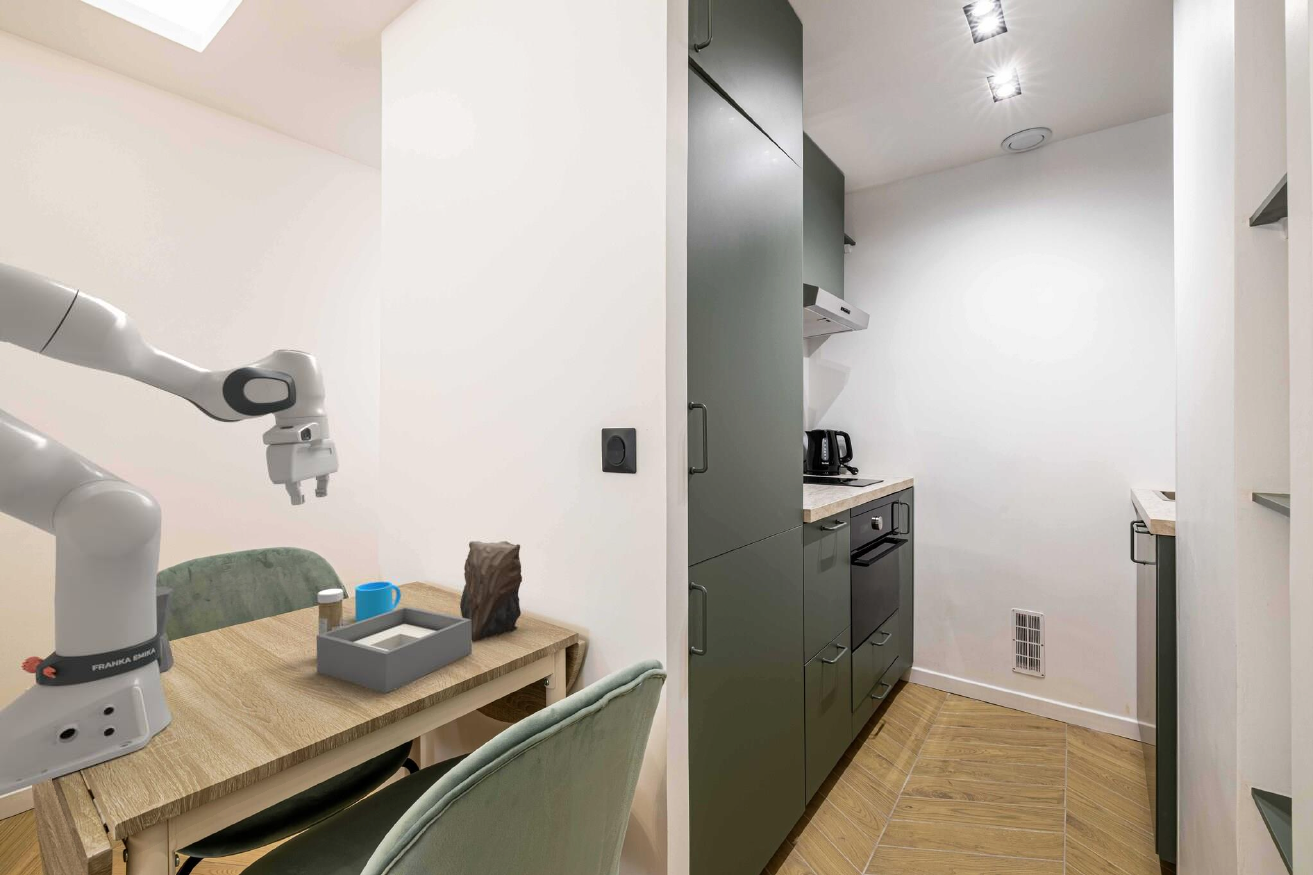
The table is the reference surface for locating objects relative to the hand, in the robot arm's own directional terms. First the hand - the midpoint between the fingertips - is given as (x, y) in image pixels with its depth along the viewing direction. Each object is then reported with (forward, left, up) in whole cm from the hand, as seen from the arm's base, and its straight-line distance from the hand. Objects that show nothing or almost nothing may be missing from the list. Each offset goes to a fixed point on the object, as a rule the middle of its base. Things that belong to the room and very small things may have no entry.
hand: (310, 500), depth 112 cm
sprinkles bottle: (+3, -1, -33) cm, 33 cm away
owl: (+28, -19, -33) cm, 47 cm away
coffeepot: (-19, +24, -33) cm, 44 cm away
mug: (+24, +12, -33) cm, 42 cm away
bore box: (+7, -16, -32) cm, 37 cm away
